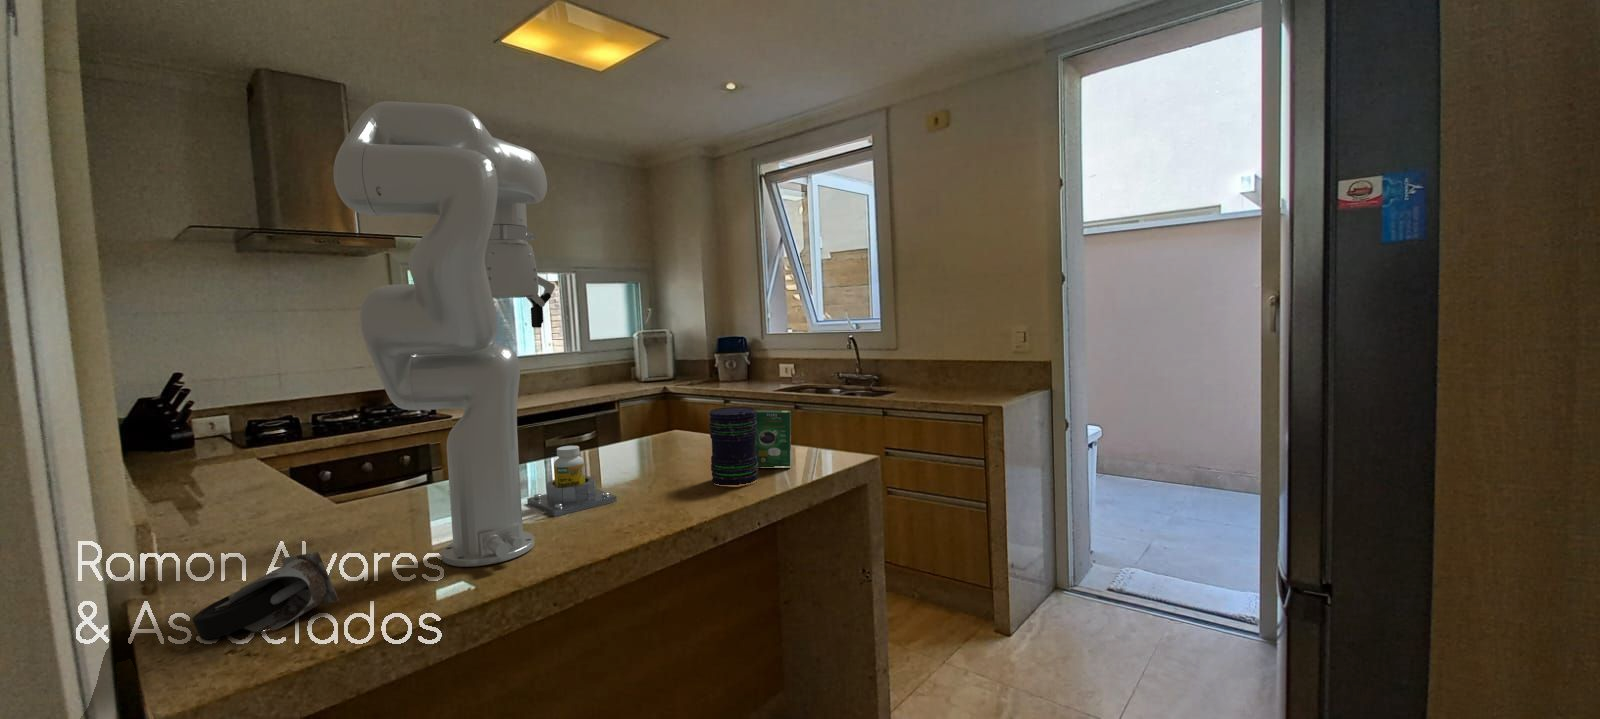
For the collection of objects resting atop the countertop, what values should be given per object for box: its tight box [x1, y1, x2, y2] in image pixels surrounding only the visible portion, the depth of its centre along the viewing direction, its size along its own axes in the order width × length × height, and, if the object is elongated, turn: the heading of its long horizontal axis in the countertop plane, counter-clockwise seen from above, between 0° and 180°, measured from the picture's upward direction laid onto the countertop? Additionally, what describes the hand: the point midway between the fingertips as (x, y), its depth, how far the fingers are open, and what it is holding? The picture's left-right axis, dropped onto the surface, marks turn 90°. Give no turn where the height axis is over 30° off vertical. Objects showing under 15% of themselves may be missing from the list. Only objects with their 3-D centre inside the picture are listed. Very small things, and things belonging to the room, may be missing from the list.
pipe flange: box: [526, 475, 618, 518], centre depth 121 cm, size 12×12×4 cm
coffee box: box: [755, 409, 792, 467], centre depth 143 cm, size 8×3×13 cm, turn 85°
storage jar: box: [709, 406, 759, 485], centre depth 133 cm, size 10×10×15 cm
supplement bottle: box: [553, 445, 586, 487], centre depth 120 cm, size 5×5×10 cm
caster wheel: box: [192, 551, 340, 640], centre depth 75 cm, size 7×11×10 cm
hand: (511, 328), depth 121 cm, fingers open, 9 cm apart
